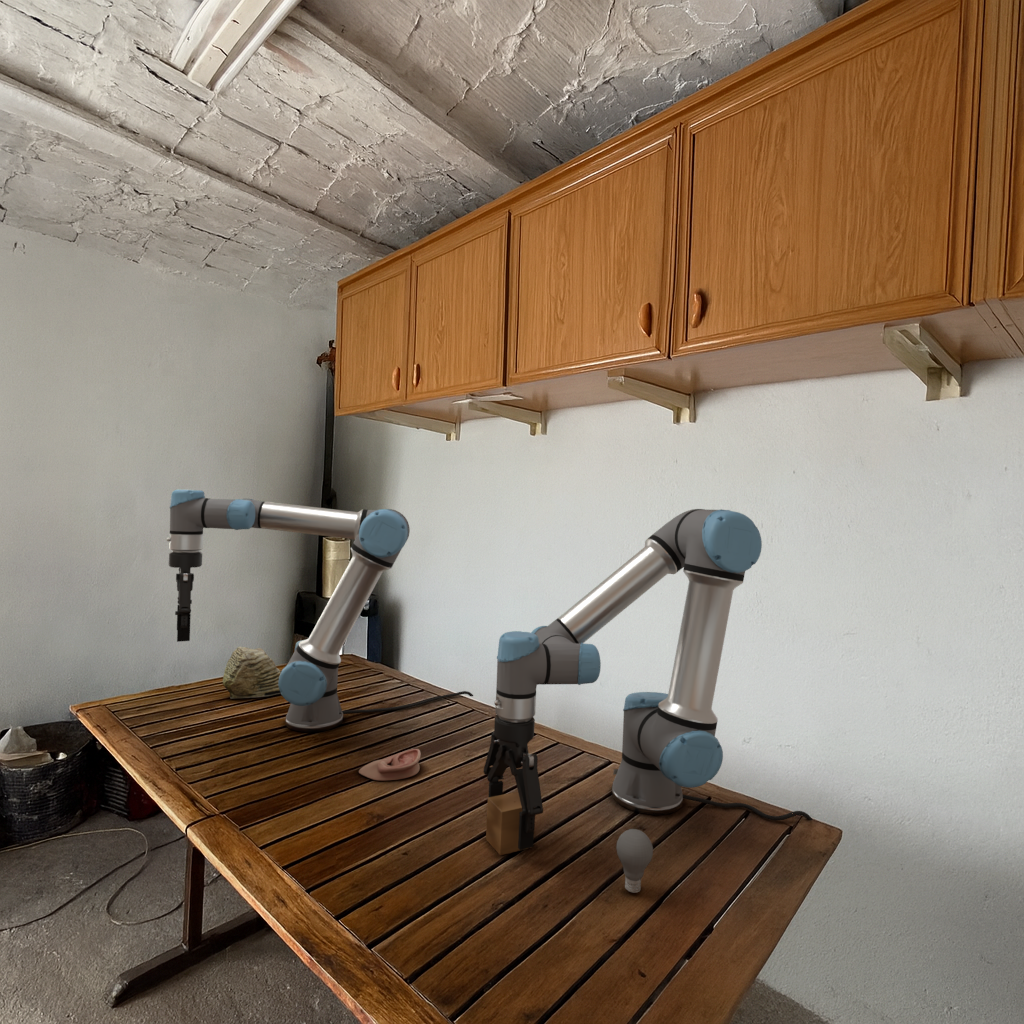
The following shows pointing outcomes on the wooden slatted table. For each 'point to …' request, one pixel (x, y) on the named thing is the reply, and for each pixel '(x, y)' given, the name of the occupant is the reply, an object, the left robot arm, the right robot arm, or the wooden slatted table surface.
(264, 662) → the fossil
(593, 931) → the wooden slatted table surface
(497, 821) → the light brown block
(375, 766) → the anatomical model
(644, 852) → the light bulb
